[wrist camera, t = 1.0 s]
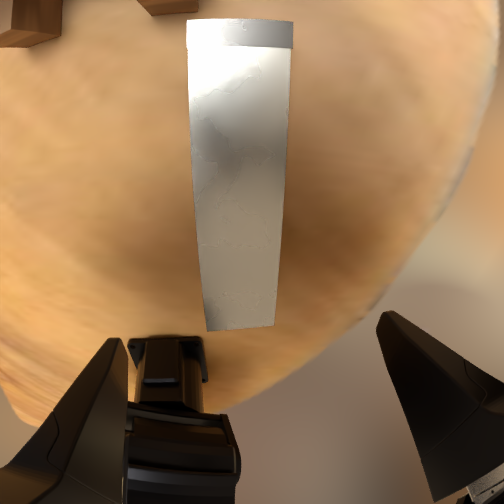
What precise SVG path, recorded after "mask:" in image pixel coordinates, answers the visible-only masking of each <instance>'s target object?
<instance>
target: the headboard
mask: <svg viewBox="0 0 504 504" xmlns="http://www.w3.org/2000/svg"><path fill="white" fill-rule="evenodd" d="M137 1H138V2H139V3H140V4H141V5H142V6H143V7H144V8H145V9H146V10H147V11H148V12H149V14H150V15H151V16H155V15H163V14H173V13H185V12H198V0H137ZM61 17H62V0H0V48H4V47H19V48H27V47H30V46H33V45H35V44H38V43H41V42H44V41H47V40H50V39H53V38H56V37H59V36H61Z"/></svg>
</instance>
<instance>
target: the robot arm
mask: <svg viewBox="0 0 504 504" xmlns="http://www.w3.org/2000/svg"><path fill="white" fill-rule="evenodd" d="M376 334H377V337H378V340H379V344H380V347H381V351H382V354H383V357H384V361H385V364H386V367H387V370H388V373H389V375H390V377H391V380H392V382H393V385H394V387H395V390H396V393H397V395H398V398H399V400H400V403H401V406H402V408H403V411H404V414H405V416H406V419H407V422H408V424H409V427H410V430H411V433H412V435H413V438H414V441H415V444H416V447H417V450H418V453H419V456H420V458H421V463H422V466H423V469H424V472H425V475H426V478H427V482H428V484H429V488H430V491H431V494H432V498H433V501H434V502H437V501H439V500H441V499H444V498H445V497H447V496H449V495H451V494H453V493H455V492H457V491H459V490H461V489H462V488H464V487H467V490H468V493H467V494H465V495H464V496H462V497H460V498H459V499H458V500H457V503H456V504H504V383H503V382H501V381H500V380H498V379H496V378H494V377H493V376H491V375H489V374H488V373H486V372H484V371H483V370H481V369H479V368H478V367H476V366H475V365H473V364H472V363H470V362H469V361H467V360H466V359H464V358H463V357H462V356H460V355H458V354H457V353H456V352H454V351H453V350H451V349H450V348H448V347H447V346H445V345H444V344H443V343H441V342H439V341H438V340H437V339H435V338H434V337H432V336H431V335H429V334H428V333H426V332H425V331H423V330H422V329H420V328H419V327H417V326H416V325H414V324H413V323H411V322H410V321H408V320H407V319H405V318H403V317H402V316H401V315H399V314H398V313H396V312H395V311H386V312H383V313H382V315H381V317H380V319H379V322H378V325H377V327H376ZM127 347H128V349H129V352H130V354H131V357H132V359H133V361H134V364H135V366H136V368H137V378H136V388H135V398H134V402H130V401H128V355H127V352H126V349H125V347H124V345H123V342H122V340H121V339H120V338H108V339H107V340H106V341H105V343H104V344H103V345H102V346H101V348H100V349H99V350H98V351H97V353H96V354H95V355H94V356H93V358H92V359H91V360H90V362H89V363H88V364H87V365H86V367H85V368H84V369H83V371H82V372H81V373H80V374H79V376H78V377H77V378H76V380H75V381H74V382H73V384H72V385H71V386H70V388H69V389H68V390H67V392H66V393H65V394H64V396H63V397H62V398H61V400H60V401H59V402H58V404H57V405H56V406H55V408H54V409H53V411H52V412H51V413H50V414H49V416H48V417H47V419H46V420H45V421H44V422H43V424H42V425H41V426H40V428H39V429H38V430H37V431H36V433H35V434H34V435H33V436H32V437H31V439H30V440H29V441H28V442H27V443H26V444H25V446H23V448H22V449H21V450H20V451H19V452H18V453H17V454H16V456H15V457H14V458H13V459H12V460H11V461H10V462H9V463H8V464H7V465H5V466H4V467H2V468H0V504H122V503H123V504H235V486H236V484H237V482H238V481H239V478H240V474H241V456H240V452H239V448H238V445H237V443H236V440H235V437H234V434H233V431H232V428H231V425H230V422H229V419H228V416H227V414H220V415H217V414H207V413H204V410H203V394H202V383H206V382H207V381H208V374H207V368H206V362H205V356H204V350H203V343H202V339H201V338H199V337H188V338H168V339H136V340H129V341H128V344H127Z"/></svg>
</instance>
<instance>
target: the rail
mask: <svg viewBox="0 0 504 504" xmlns="http://www.w3.org/2000/svg"><path fill="white" fill-rule="evenodd" d="M187 49H188V84H189V119H190V143H191V162H192V179H193V194H194V208H195V221H196V233H197V244H198V255H199V265H200V275H201V284H202V293H203V302H204V311H205V319H206V327H207V331H220V330H232V329H244V328H255V327H265V326H274V321H275V310H276V298H277V286H278V274H279V261H280V248H281V235H282V220H283V205H284V189H285V173H286V155H287V135H288V113H289V89H290V58H291V49H293V22H290V21H278V20H263V19H197V20H187Z"/></svg>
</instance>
